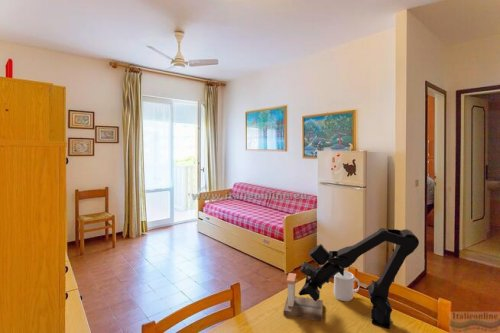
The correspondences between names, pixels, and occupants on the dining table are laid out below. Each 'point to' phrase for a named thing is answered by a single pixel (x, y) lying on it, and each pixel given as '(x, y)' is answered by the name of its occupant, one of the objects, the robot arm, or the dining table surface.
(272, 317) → the dining table surface
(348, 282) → the mug
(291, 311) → the fader console
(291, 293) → the fader tab
